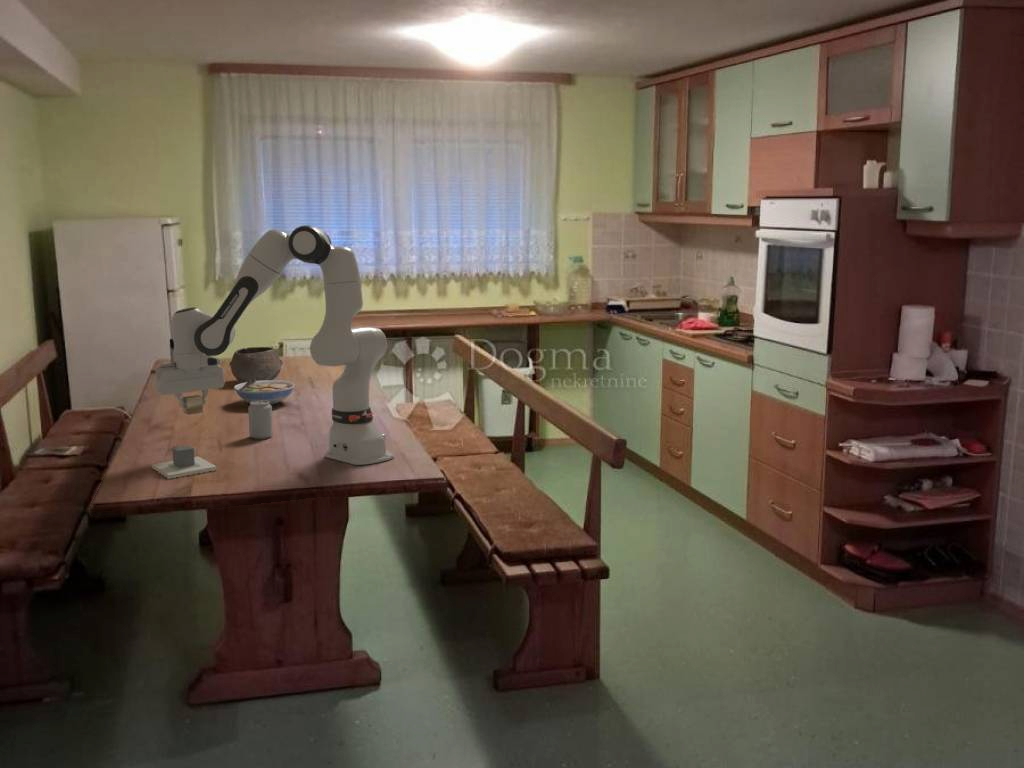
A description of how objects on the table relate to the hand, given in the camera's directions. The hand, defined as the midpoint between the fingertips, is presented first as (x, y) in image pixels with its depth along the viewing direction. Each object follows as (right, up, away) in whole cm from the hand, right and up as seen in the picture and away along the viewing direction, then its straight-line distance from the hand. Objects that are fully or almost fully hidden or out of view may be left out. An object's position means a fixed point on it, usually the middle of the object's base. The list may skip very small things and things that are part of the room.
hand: (192, 405), depth 292 cm
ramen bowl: (+3, -1, +74) cm, 74 cm away
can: (+15, -11, +24) cm, 30 cm away
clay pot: (-11, +7, +115) cm, 116 cm away
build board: (+2, -18, -14) cm, 23 cm away
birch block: (0, -2, 0) cm, 2 cm away
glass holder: (-51, +12, +143) cm, 152 cm away
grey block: (+2, -17, -14) cm, 22 cm away
